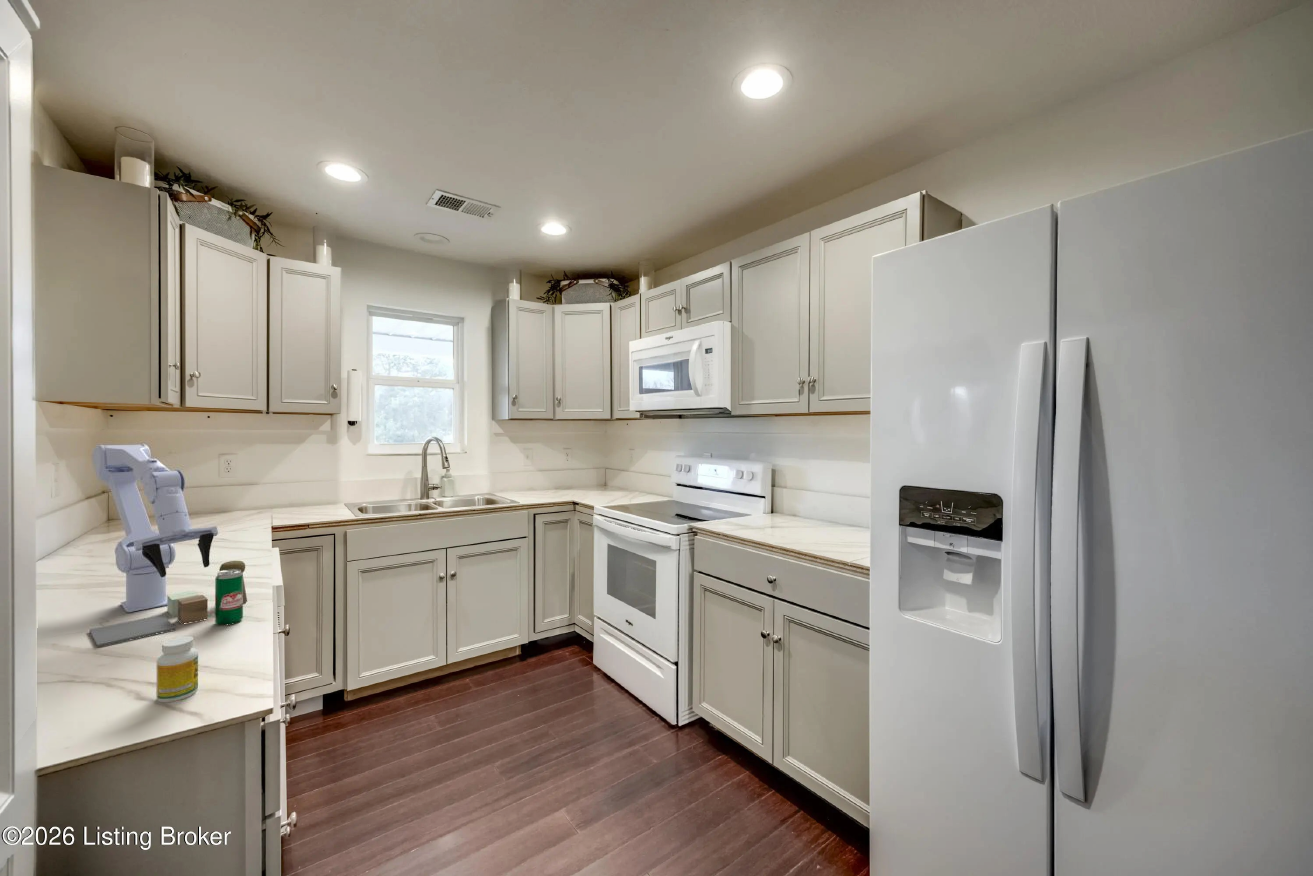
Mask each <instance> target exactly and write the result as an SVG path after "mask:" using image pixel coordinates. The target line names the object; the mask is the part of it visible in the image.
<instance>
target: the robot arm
mask: <svg viewBox="0 0 1313 876" xmlns="http://www.w3.org/2000/svg"><path fill="white" fill-rule="evenodd" d="M92 465H93V468H94V471H95V474H96V476H97V478H98V480H99V481H101V482H103V483H106V484H107V485H108V487H109V490H110V493H111V494H112V497H113V501H114V503H115V506H116V509H117V512H118V514H119V515H118V516H119V518H120V521H121V524H122V526H123V530H124V533H125V537H124V538H122V539H121V540H120V541H119V542H118V543H117V544H116V547H115V548H114V554H115V565H116V567H117V570H118V571H119V572H120V573H123V574H125V591H126V592H125V600H123V601H120V605H121V606H122V608H123V609H124V611H125V612H126V613H131V612H133V613H134V612H136V611H143V610H147V609H153V608H157V607H163V606H167V569H169V568H170V566H171V565H172V564H173V563H174V561H175V560H176V555H177V553H176V547H175V545H174V544H176V543H182V542H186V541H192V540H197V539H198V543H197V547H198V549H199V552H200V555H201V561H202V566H203V567H204V569H205V568H208V567H209V566H210V555H211V554H210V553H211V547H212V544H213V543H212V542H213V539H214V537H216V536H217V535H218V534H219V532H218V531H219V530H218V528H217V527H218V526H217V525H214V526H207V527H192V524H191V523H192V522H191V519H190V516H189V511H188V508H187V504H186V500H185V496H184V491H185V486H186V480H185V476H184V473H183V472H182V470H180V469H175V470H170V469H169V468H168V467H167V466H165V465H164V464H163V463H162V462H160V461H159V460H158V459H157V458H152V454H151V449H150V448H149V446H148V445H146V443H141V444H119V445H118V444H114V445H113V444H112V445H111V444H110V445H108V444H107V445H103V444H97V445H96V446H95V447H94V448H93V451H92ZM138 482H140V483H141V484H142V491H143V494H144V496H145V497H146V498H147V501H148V503H149V504H151V505H152V508H153V514H154V519H155V522H156V526H157V529H158V531H156V530H153V527H152V524H151V522H150V519H149V516H148V514H147V510H146V508H145V505H144V502H143V500H142V496H141V494H140V491H139V487H138V485H137V484H138Z"/></svg>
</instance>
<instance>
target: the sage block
mask: <svg viewBox="0 0 1313 876" xmlns="http://www.w3.org/2000/svg"><path fill="white" fill-rule="evenodd" d="M198 595H200V594H199V593H198V592H196V591H195V590H190V591H183V592H178V593H174V594H168V595H167V594H166V598H167V605H166V606H167V612H168V611H169V612H168V613H169V614H170V615H171V616H172V615H174V616H178V599H183V598H188V597H193V596H198Z"/></svg>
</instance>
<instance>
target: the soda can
mask: <svg viewBox="0 0 1313 876" xmlns="http://www.w3.org/2000/svg"><path fill="white" fill-rule="evenodd" d="M243 578H244V574H242V573H241V570H239V569H231V570H224V571H221V572H220V571H218V572H217V575H216V576H215V579H214V581H215V583H214V586H215V588H214V592H215V593H214V596H215V597H214V598H215V599H214V605H215V607H214V610H215V611H214V612H215V613H214V615H215V616H214V618H215V619H214V622H215V624H217V625H218V626H230V625H229V624H231V625H233V624H232V623H235V624H237V623H239V622H240V621H242V620H243V618H244V604H243ZM236 622H237V623H236ZM227 624H228V625H227Z"/></svg>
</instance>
